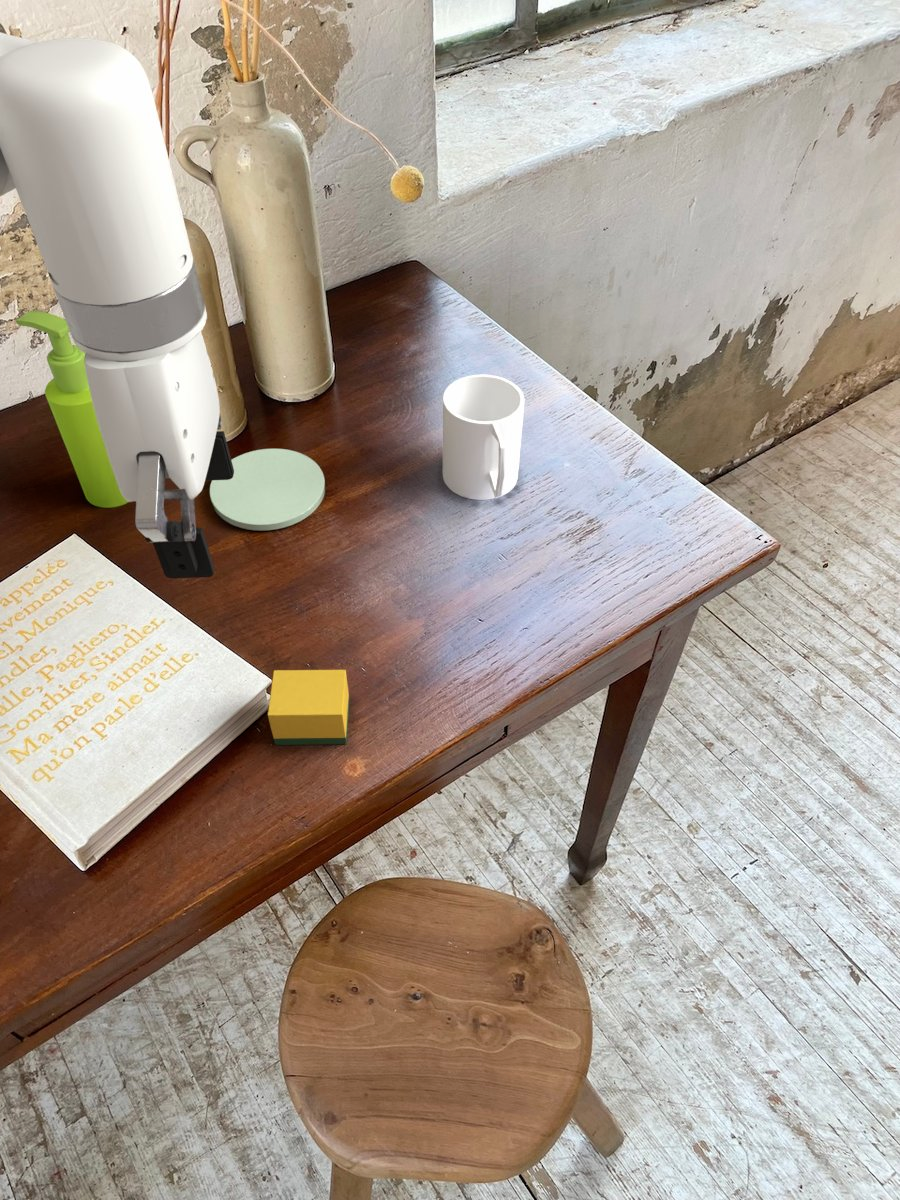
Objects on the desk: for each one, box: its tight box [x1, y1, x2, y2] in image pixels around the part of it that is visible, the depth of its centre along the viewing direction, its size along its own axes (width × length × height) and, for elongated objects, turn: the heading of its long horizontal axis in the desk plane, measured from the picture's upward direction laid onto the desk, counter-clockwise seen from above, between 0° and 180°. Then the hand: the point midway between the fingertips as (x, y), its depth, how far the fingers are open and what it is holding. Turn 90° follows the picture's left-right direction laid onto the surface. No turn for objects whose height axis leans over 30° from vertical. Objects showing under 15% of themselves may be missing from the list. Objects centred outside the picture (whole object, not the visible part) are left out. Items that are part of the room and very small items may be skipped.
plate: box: [209, 447, 326, 532], centre depth 95 cm, size 12×12×1 cm
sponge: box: [267, 669, 351, 746], centre depth 75 cm, size 6×4×4 cm
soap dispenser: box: [14, 310, 129, 509], centre depth 89 cm, size 6×7×20 cm
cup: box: [442, 373, 525, 501], centre depth 93 cm, size 8×12×10 cm
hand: (202, 523), depth 63 cm, fingers open, 9 cm apart
